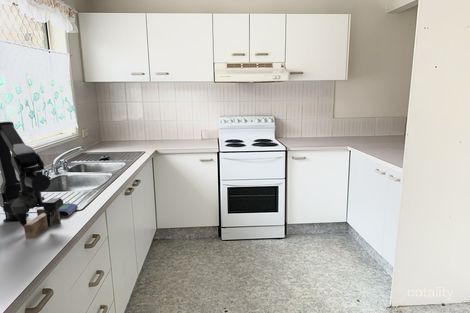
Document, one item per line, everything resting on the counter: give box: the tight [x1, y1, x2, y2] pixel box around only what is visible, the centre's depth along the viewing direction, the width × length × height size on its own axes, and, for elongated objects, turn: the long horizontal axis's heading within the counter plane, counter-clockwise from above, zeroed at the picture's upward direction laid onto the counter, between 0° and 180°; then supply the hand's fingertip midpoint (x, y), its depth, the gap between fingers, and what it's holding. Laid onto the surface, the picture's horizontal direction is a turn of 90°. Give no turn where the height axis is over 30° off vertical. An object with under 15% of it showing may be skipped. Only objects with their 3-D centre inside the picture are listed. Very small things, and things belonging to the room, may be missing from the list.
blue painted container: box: [59, 203, 79, 218], centre depth 134 cm, size 9×3×11 cm
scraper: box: [23, 208, 62, 240], centre depth 117 cm, size 13×8×6 cm, turn 0°
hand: (37, 226), depth 116 cm, fingers open, 9 cm apart
